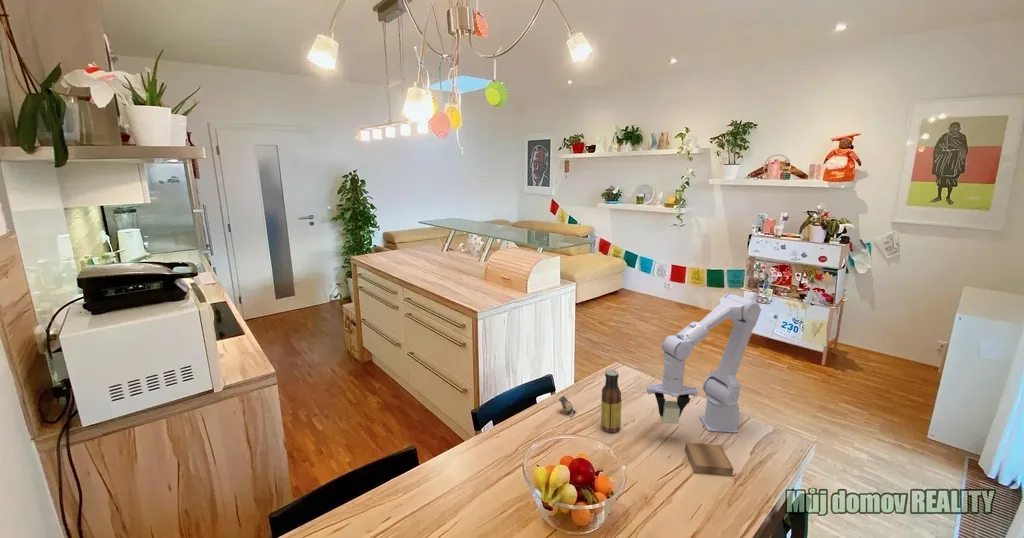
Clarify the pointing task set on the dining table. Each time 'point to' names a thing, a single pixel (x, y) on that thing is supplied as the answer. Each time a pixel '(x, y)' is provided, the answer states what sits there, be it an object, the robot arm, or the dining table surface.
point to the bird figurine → (567, 406)
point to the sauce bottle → (611, 403)
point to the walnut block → (708, 459)
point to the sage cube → (671, 412)
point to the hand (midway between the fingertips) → (669, 414)
